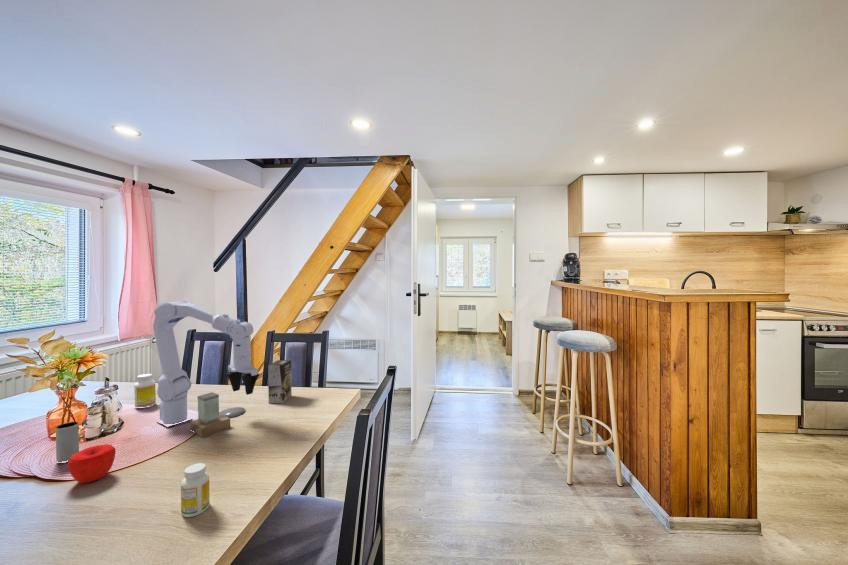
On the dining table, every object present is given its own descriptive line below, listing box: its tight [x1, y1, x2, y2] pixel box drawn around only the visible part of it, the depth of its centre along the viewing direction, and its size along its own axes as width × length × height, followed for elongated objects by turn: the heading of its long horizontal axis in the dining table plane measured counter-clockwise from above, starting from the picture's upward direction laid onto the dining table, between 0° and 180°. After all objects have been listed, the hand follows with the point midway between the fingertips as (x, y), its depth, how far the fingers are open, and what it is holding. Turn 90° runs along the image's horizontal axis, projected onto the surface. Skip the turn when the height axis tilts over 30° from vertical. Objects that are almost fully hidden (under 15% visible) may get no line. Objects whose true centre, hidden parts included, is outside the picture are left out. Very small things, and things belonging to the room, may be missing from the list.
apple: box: [67, 443, 117, 484], centre depth 88 cm, size 9×9×8 cm
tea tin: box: [197, 392, 220, 425], centre depth 116 cm, size 5×5×9 cm
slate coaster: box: [219, 406, 246, 419], centre depth 130 cm, size 9×9×1 cm
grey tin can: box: [55, 421, 80, 462], centre depth 97 cm, size 4×4×10 cm
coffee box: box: [267, 359, 293, 404], centre depth 144 cm, size 9×6×16 cm
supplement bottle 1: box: [133, 373, 157, 408], centre depth 138 cm, size 7×7×13 cm
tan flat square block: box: [189, 414, 231, 438], centre depth 117 cm, size 9×9×3 cm
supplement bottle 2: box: [180, 462, 210, 518], centre depth 76 cm, size 5×5×10 cm
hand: (242, 392), depth 123 cm, fingers open, 7 cm apart
